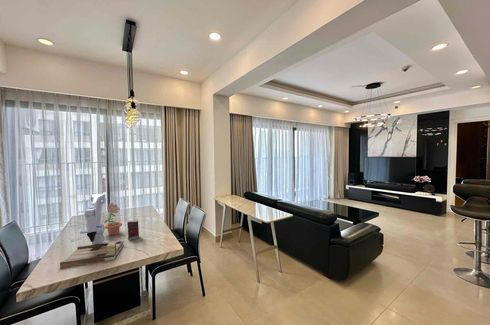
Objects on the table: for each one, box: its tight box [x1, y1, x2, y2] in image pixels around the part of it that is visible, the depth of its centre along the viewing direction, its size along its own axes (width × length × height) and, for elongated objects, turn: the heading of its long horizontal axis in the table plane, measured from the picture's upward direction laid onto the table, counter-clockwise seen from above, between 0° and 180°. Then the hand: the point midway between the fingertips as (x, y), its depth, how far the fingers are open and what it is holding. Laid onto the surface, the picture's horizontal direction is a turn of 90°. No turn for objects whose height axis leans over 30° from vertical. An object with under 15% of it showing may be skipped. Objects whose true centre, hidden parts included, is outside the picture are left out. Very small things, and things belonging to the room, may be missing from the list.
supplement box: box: [127, 219, 140, 241], centre depth 179 cm, size 9×5×16 cm, turn 120°
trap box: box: [59, 240, 125, 268], centre depth 150 cm, size 24×32×4 cm
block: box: [107, 241, 117, 252], centre depth 153 cm, size 5×5×5 cm
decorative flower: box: [104, 202, 123, 236], centre depth 188 cm, size 15×14×30 cm
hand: (92, 241), depth 152 cm, fingers closed
